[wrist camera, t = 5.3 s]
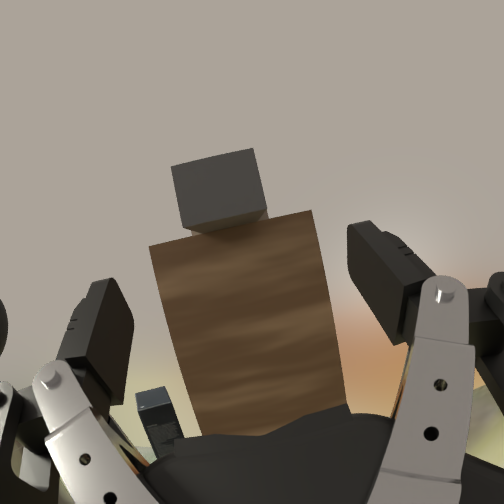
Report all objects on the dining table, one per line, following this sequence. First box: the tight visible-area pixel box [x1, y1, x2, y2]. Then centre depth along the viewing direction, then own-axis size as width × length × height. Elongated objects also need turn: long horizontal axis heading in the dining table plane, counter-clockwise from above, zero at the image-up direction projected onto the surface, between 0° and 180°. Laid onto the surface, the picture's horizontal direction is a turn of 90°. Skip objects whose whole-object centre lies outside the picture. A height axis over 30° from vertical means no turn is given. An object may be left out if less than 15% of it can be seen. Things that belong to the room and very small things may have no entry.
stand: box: [149, 210, 347, 436], centre depth 30 cm, size 12×12×37 cm
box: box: [135, 386, 184, 459], centre depth 46 cm, size 8×6×11 cm
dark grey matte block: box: [171, 148, 267, 234], centre depth 24 cm, size 19×4×3 cm, turn 3°
